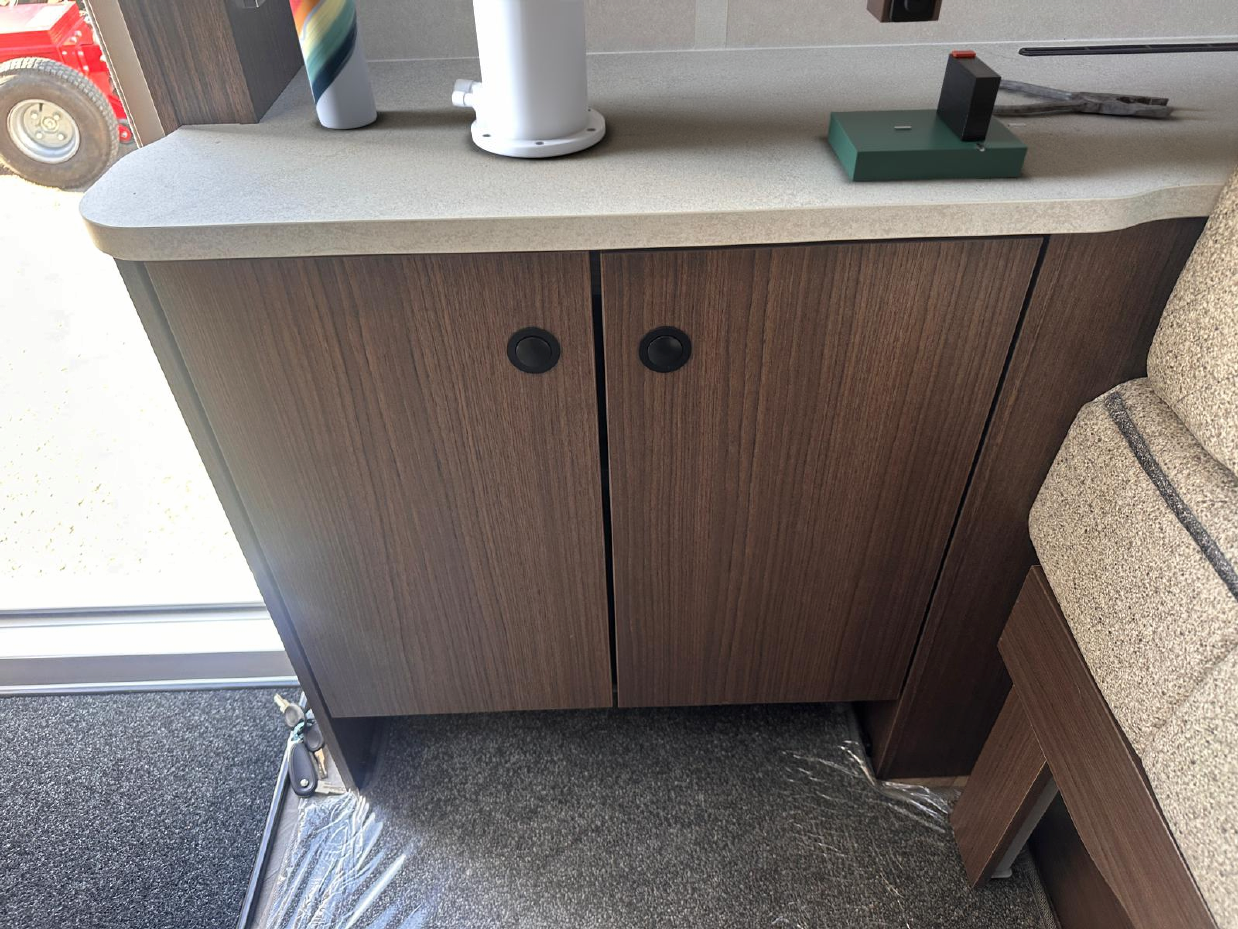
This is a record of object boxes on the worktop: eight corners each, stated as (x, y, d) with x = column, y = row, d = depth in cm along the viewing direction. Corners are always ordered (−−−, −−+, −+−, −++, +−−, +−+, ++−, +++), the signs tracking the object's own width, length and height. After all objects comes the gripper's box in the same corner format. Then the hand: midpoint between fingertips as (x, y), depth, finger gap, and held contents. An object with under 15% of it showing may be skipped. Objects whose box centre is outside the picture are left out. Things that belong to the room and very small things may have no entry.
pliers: (943, 75, 88) (1143, 77, 86) (941, 84, 89) (1140, 86, 86) (960, 105, 81) (1180, 108, 79) (958, 114, 81) (1176, 117, 79)
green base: (853, 184, 69) (859, 152, 67) (825, 137, 78) (829, 107, 76) (1041, 179, 69) (1051, 147, 67) (993, 132, 78) (1001, 102, 76)
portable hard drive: (985, 140, 69) (1002, 73, 66) (960, 141, 69) (977, 74, 66) (958, 113, 74) (973, 49, 71) (935, 113, 74) (949, 50, 71)
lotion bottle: (316, 116, 85) (256, -124, 72) (372, 107, 86) (324, -128, 74) (324, 133, 81) (263, -117, 68) (383, 124, 82) (334, -122, 70)
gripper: (864, -293, 61) (830, -9, 72) (937, -306, 48) (880, 42, 59) (968, -297, 61) (916, -12, 72) (1068, -311, 48) (986, 39, 59)
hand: (901, 9), depth 66 cm, fingers closed on block, 4 cm apart
